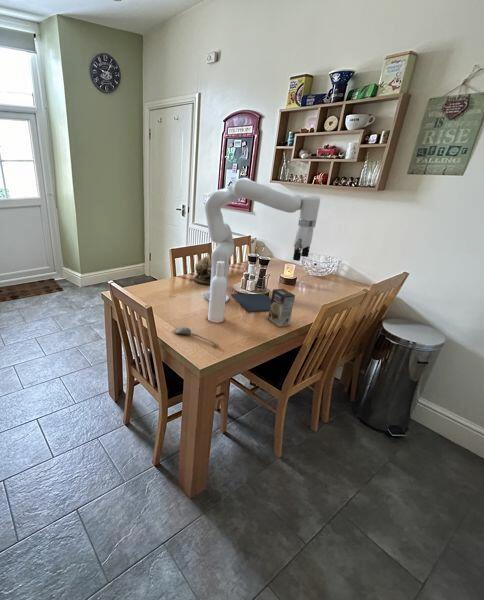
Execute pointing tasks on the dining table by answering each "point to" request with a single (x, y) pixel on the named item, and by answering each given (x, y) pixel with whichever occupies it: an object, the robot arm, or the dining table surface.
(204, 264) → the owl figurine
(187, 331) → the soupspoon
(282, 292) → the coffee box
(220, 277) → the bottle
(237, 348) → the dining table surface
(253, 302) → the mat
